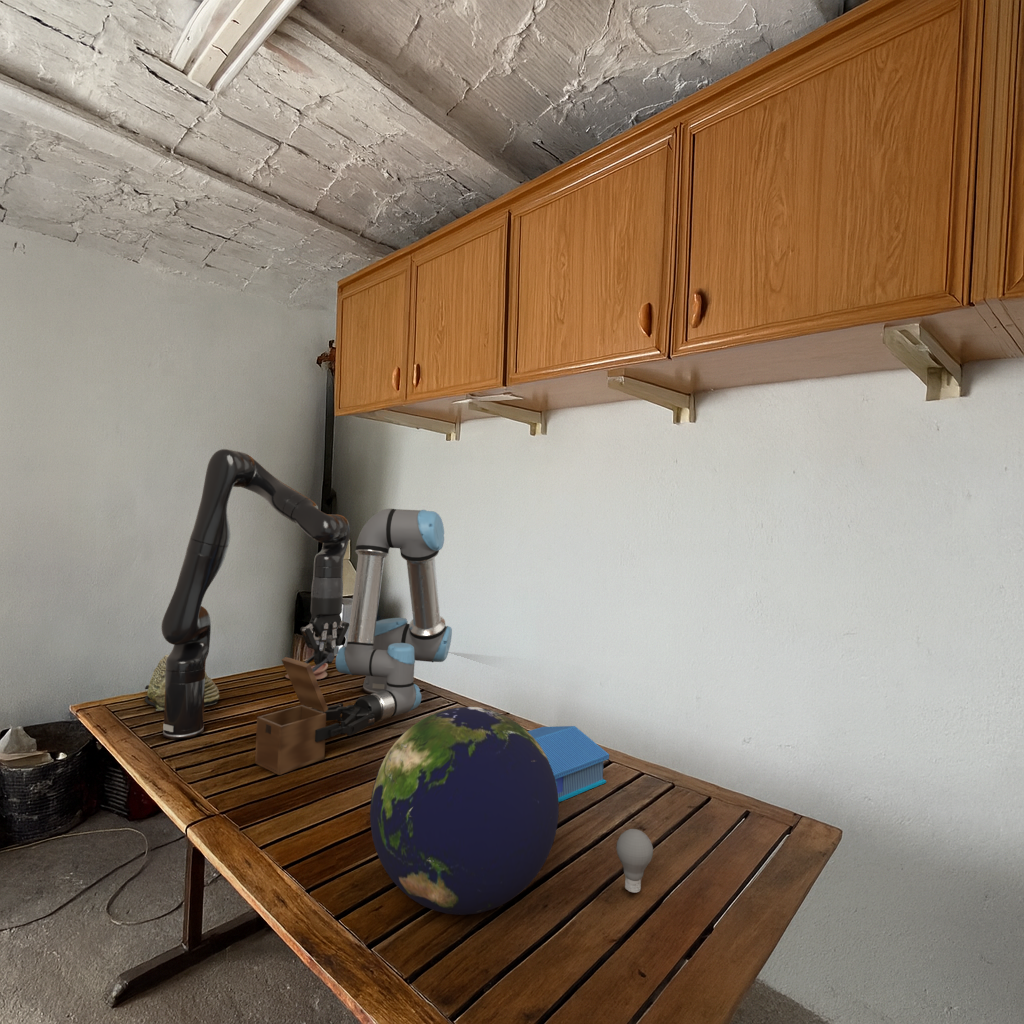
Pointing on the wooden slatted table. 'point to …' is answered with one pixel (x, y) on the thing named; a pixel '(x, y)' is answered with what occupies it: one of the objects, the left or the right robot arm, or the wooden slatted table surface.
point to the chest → (289, 739)
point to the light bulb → (634, 857)
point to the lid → (307, 680)
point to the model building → (571, 759)
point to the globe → (464, 810)
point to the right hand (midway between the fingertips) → (302, 730)
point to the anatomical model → (318, 672)
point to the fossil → (158, 687)
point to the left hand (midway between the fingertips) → (323, 663)
